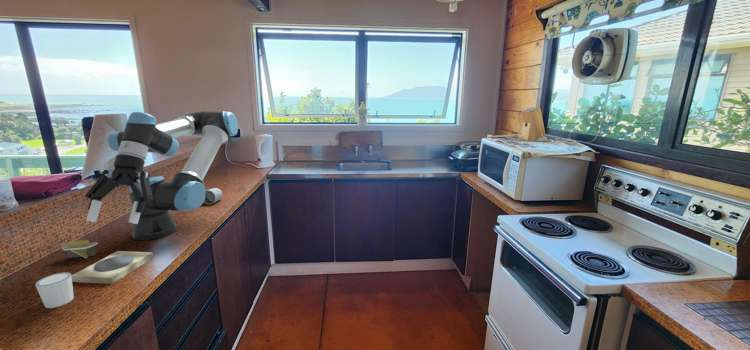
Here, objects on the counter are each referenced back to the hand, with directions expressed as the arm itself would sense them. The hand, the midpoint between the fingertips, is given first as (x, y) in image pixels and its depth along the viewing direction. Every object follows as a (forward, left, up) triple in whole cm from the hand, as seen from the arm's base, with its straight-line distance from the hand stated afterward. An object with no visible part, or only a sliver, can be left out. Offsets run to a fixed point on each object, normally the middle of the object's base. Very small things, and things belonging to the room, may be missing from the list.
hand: (111, 222), depth 95 cm
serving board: (-2, -4, -17) cm, 18 cm away
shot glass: (+15, -5, -18) cm, 23 cm away
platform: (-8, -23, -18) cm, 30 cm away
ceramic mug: (-70, -13, -18) cm, 74 cm away
